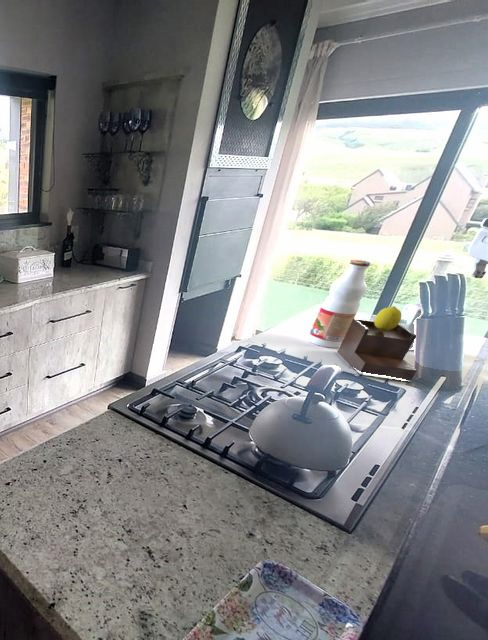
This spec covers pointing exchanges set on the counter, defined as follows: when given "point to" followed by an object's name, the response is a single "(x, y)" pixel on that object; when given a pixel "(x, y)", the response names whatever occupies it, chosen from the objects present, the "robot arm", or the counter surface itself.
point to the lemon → (387, 318)
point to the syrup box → (410, 317)
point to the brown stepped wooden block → (378, 349)
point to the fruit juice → (340, 306)
